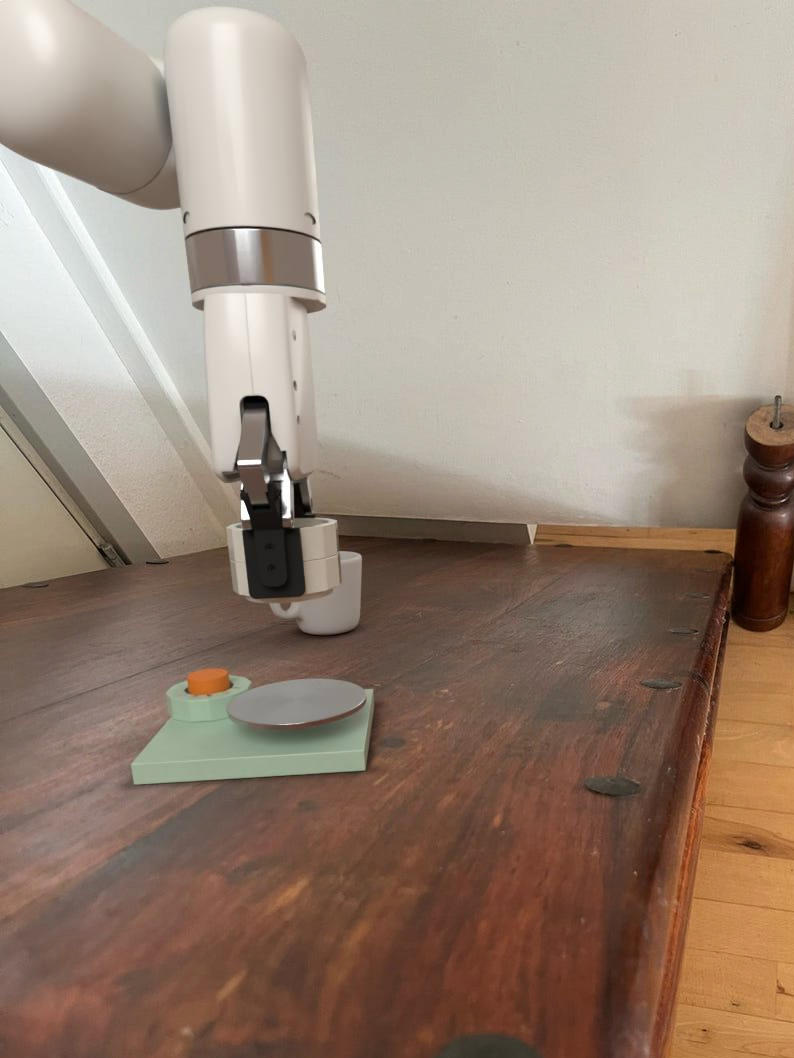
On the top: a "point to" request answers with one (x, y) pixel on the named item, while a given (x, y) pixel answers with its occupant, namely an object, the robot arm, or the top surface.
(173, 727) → the scale
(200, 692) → the power button
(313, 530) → the bowl
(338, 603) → the cup
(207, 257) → the robot arm
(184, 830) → the top surface
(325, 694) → the platter
